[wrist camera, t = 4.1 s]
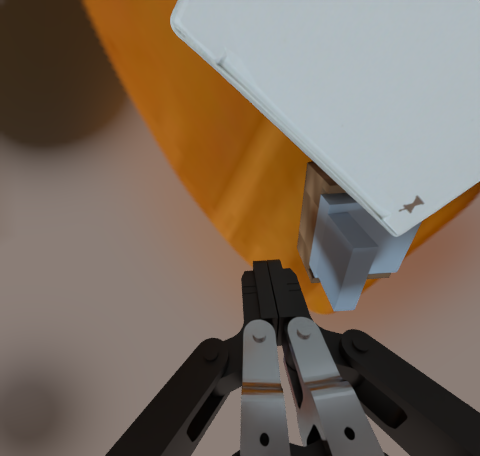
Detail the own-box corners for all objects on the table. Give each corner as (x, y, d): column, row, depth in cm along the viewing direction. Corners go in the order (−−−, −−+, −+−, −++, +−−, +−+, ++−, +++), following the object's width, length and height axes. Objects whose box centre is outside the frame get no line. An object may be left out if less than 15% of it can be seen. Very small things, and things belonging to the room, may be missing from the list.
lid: (320, 194, 14) (356, 238, 10) (415, 187, 14) (488, 229, 10) (309, 264, 17) (332, 317, 13) (385, 259, 17) (430, 310, 13)
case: (307, 162, 16) (329, 185, 12) (390, 157, 16) (435, 178, 12) (297, 248, 20) (311, 283, 17) (361, 243, 20) (389, 277, 17)
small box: (372, 77, 13) (664, 68, 4) (303, 152, 15) (401, 245, 7) (277, -56, 10) (605, -981, 1) (208, 63, 12) (159, 19, 4)
